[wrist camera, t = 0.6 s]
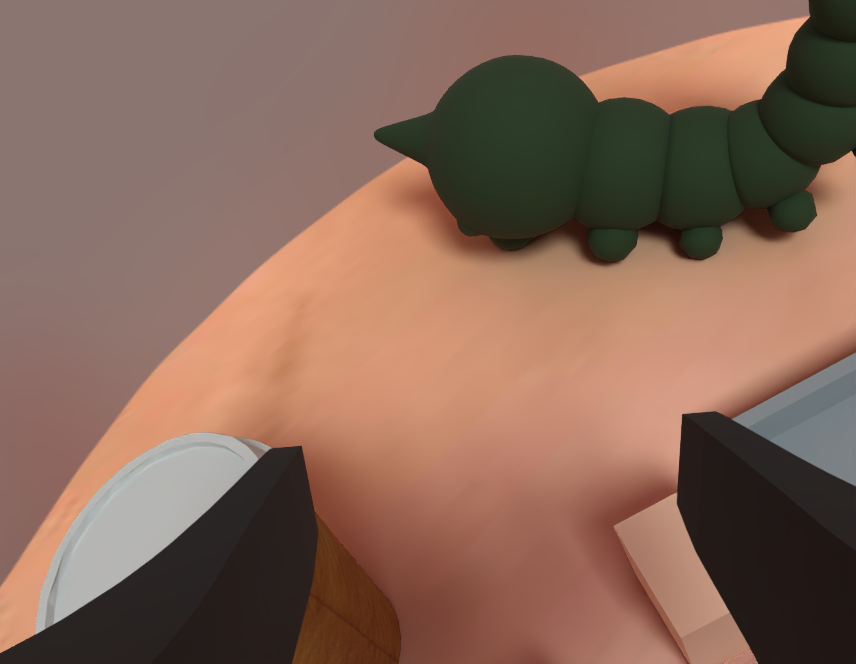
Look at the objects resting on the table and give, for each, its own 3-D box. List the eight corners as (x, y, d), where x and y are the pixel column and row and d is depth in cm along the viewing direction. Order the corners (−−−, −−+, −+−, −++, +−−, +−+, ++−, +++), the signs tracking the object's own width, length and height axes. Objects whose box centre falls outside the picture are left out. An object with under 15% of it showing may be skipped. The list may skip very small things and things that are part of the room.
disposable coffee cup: (205, 687, 30) (-18, 607, 22) (334, 513, 34) (182, 384, 25) (338, 846, 24) (103, 819, 16) (479, 615, 28) (344, 491, 19)
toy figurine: (860, 167, 36) (438, 189, 46) (966, -278, 22) (325, -109, 32) (877, 301, 31) (398, 293, 41) (1028, -166, 17) (244, -6, 27)
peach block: (798, 624, 23) (800, 575, 20) (696, 676, 23) (681, 638, 20) (726, 527, 26) (717, 470, 23) (636, 575, 26) (612, 526, 23)
